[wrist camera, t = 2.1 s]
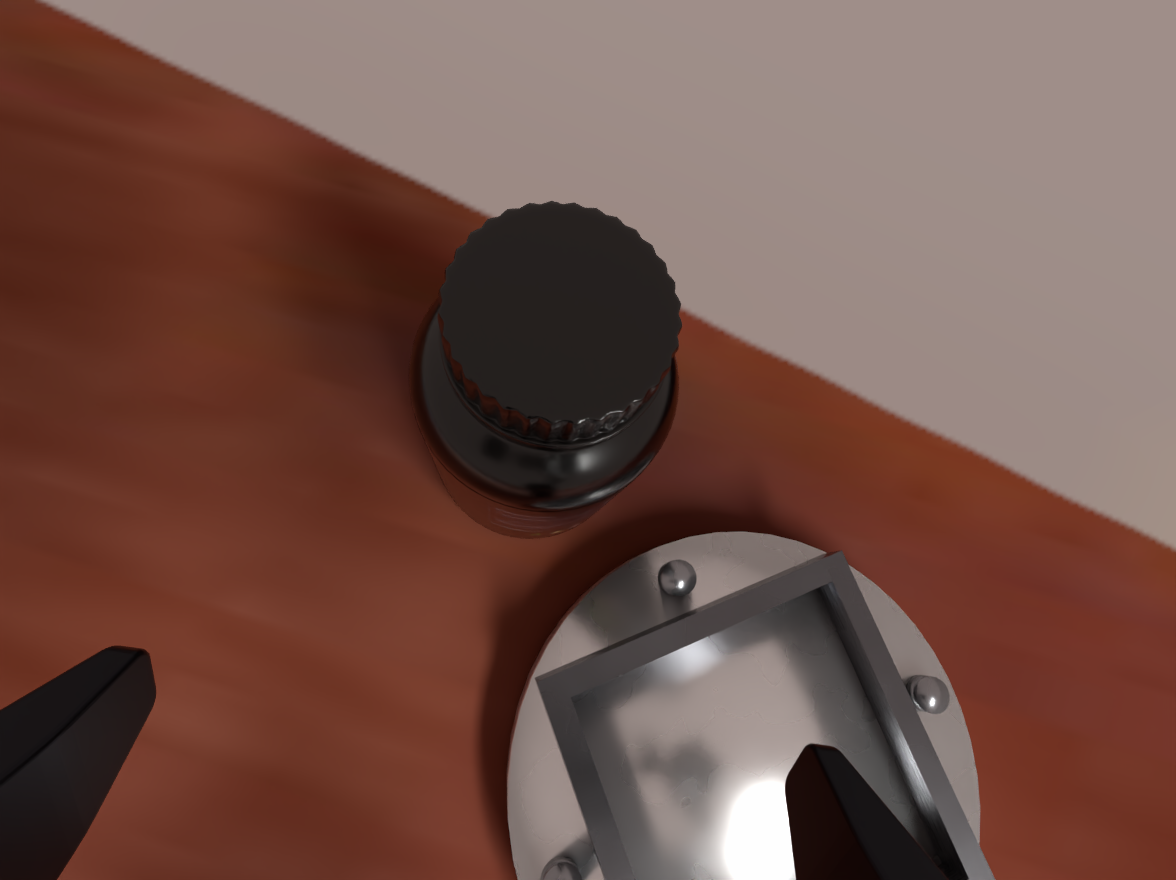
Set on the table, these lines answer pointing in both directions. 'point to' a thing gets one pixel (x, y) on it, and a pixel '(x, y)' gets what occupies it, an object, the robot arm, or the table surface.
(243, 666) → the table surface
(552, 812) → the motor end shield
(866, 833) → the robot arm
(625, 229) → the supplement bottle
